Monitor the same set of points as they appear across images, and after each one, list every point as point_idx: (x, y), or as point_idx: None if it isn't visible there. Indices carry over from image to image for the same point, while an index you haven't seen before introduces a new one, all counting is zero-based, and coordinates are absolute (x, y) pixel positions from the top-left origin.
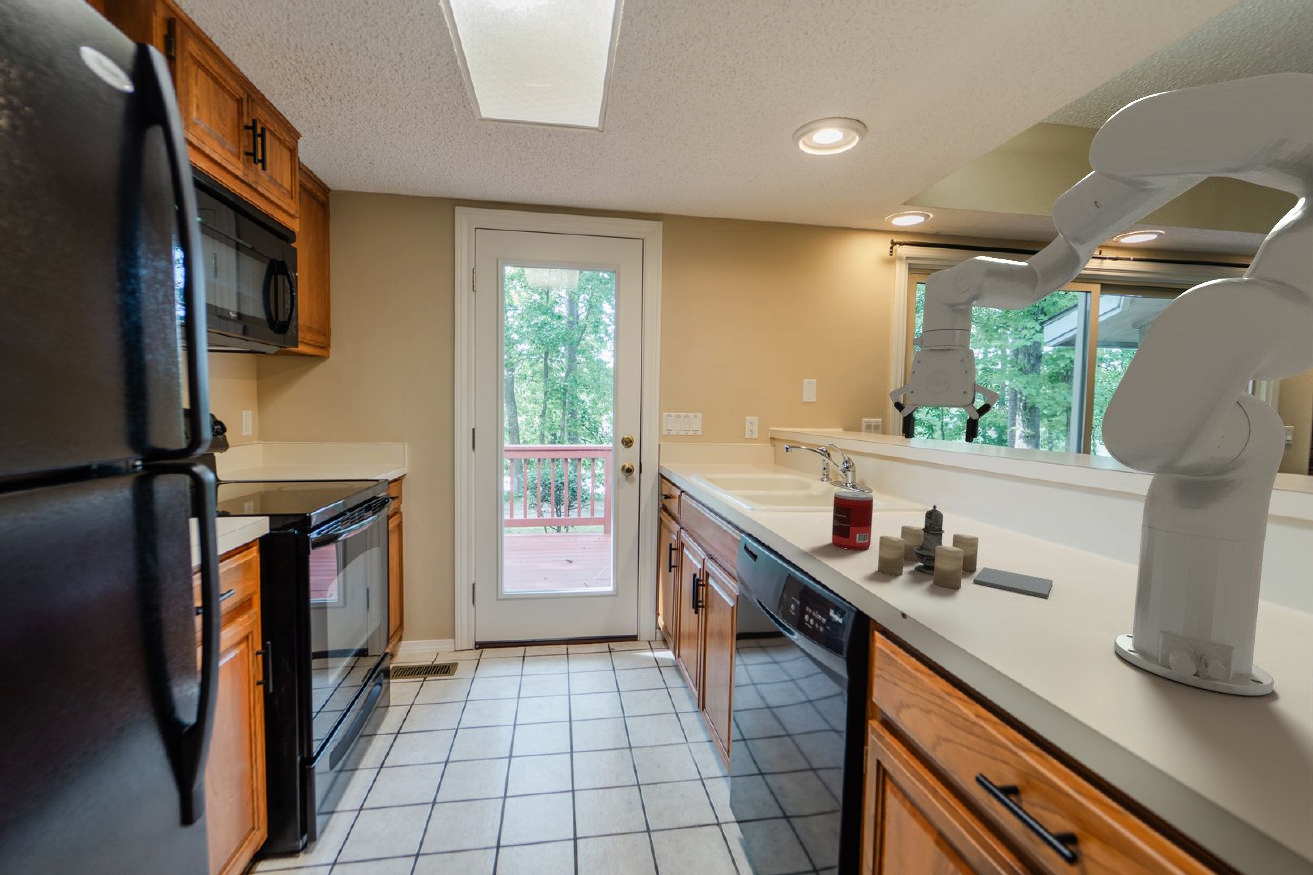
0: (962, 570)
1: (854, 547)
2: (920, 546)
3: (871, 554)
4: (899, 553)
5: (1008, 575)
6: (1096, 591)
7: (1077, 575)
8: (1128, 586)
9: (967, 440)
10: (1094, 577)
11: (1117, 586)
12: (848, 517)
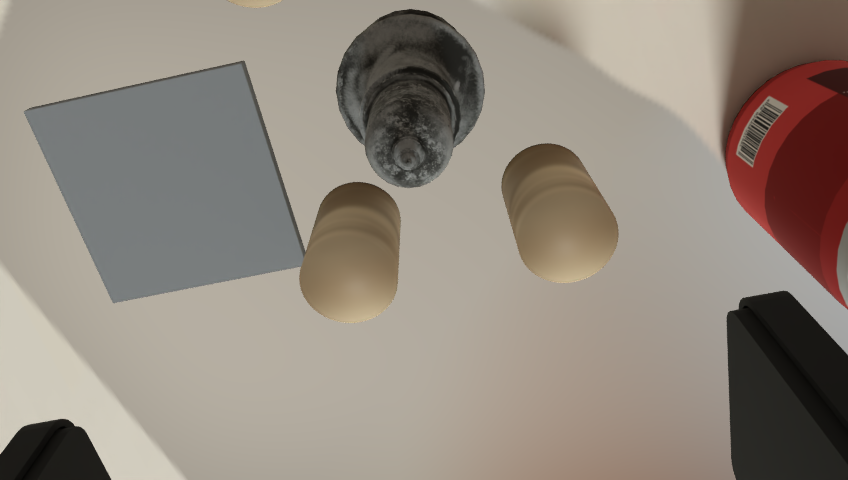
0: (344, 184)
1: (765, 86)
2: (451, 70)
3: (677, 88)
4: None
5: (208, 232)
6: (18, 329)
7: (136, 454)
8: None
9: (43, 427)
10: None
11: None
12: None
